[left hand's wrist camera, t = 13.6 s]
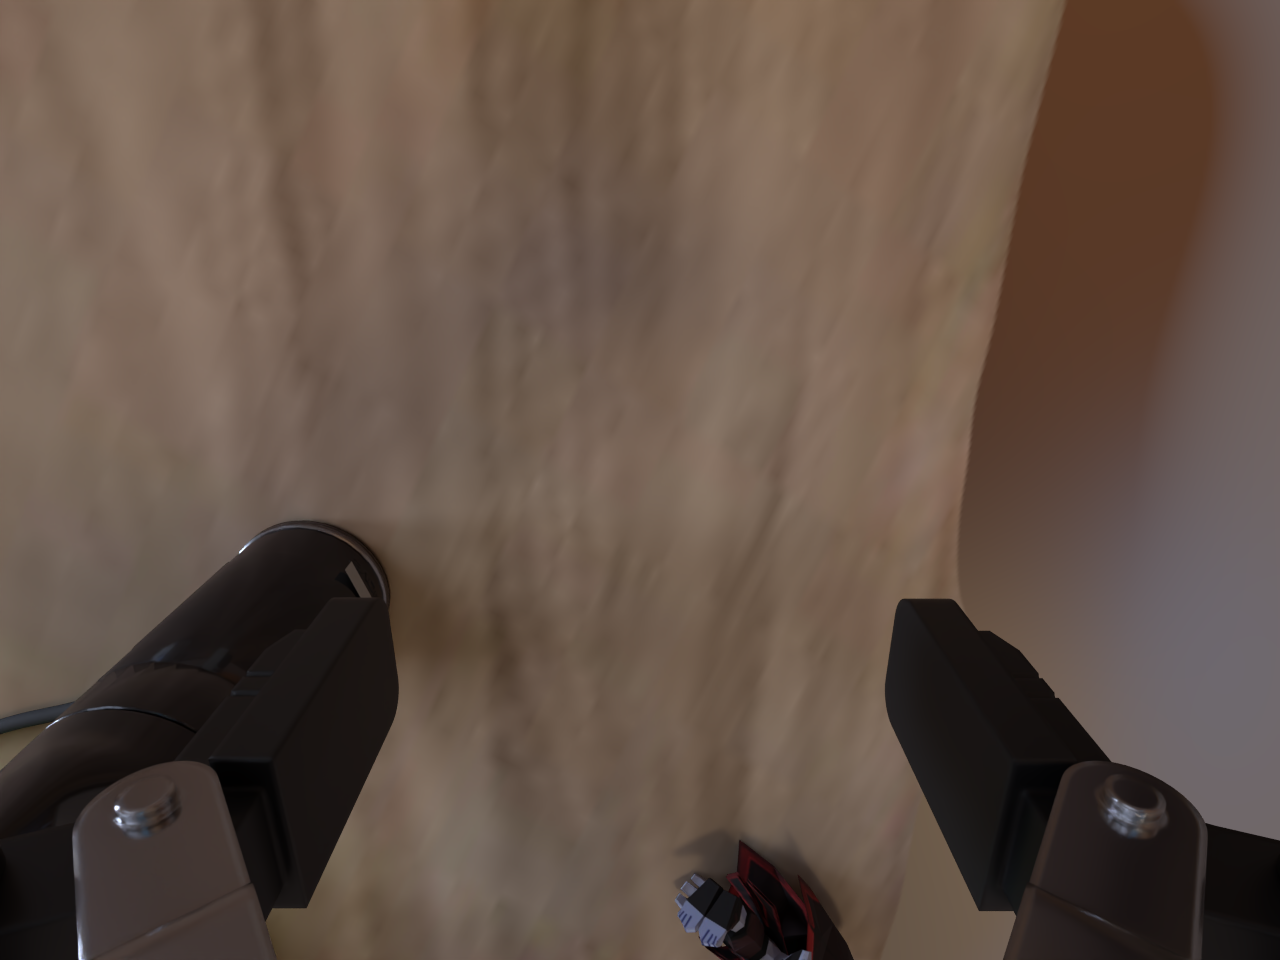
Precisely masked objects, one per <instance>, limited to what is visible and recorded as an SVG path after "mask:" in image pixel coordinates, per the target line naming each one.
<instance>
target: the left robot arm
mask: <svg viewBox="0 0 1280 960" xmlns="http://www.w3.org/2000/svg"><path fill="white" fill-rule="evenodd" d="M389 600H390V595H389V586H388V582H387V579H386V576H385V573H384V571H383V569H382V567H381V565H380V564H379V562H378V561H377V559H376V558H375V556H374V555H373V554H372V553H371V552H370V551H369V550H368V548H367V547H365V546H364V545H363V544H362V543H361V542H360V541H358V540H357V539H356V538H354V537H353V536H351V535H350V534H348V533H346V532H344V531H342V530H340V529H338V528H335V527H333V526H330V525H327V524H323V523H319V522H312V521H290V522H284V523H280V524H277V525H274V526H271V527H269V528H267V529H265V530H264V531H262V532H260V533H259V534H258V535H256V536H255V537H254V538H253V539H252V540H251V541H250V542H248V543H247V544H246V545H245V546H244V548H243V549H242V550H241V551H240V553H239V554H238V555H237V556H236V557H235V558H233V559H232V560H231V561H230V562H228V563H226V564H225V565H224V566H223V567H222V568H221V569H220V570H218V571H217V572H216V573H215V574H214V575H213V576H212V577H211V578H210V579H208V580H207V581H206V582H205V583H204V584H203V585H202V586H201V587H200V588H199V589H197V590H196V591H195V592H194V593H193V594H192V595H191V596H190V597H189V598H187V599H186V600H185V601H184V602H183V603H182V604H181V605H180V606H179V607H177V608H176V609H175V610H174V611H173V612H172V613H171V614H170V615H169V616H167V617H166V618H165V619H164V620H163V621H162V622H161V623H160V624H159V625H157V626H156V627H155V628H154V629H153V630H152V631H151V632H150V633H149V634H147V635H146V636H145V637H144V638H143V639H142V640H141V641H140V642H139V643H137V644H136V645H135V646H134V647H133V649H132V650H131V651H130V652H129V653H128V654H127V655H126V656H124V657H123V658H122V659H121V660H120V661H119V662H118V663H117V664H116V665H115V666H113V667H112V668H111V669H110V670H109V671H108V672H107V673H106V674H105V675H103V676H102V677H101V678H100V679H99V680H98V681H97V682H96V683H95V684H94V685H93V686H92V687H91V688H90V689H88V690H87V691H86V692H85V693H84V694H83V695H82V696H81V697H80V698H79V699H77V700H76V701H74V702H70V703H66V704H62V705H58V706H53V707H48V708H44V709H39V710H34V711H30V712H25V713H21V714H17V715H13V716H10V717H6V718H3V719H0V734H3V733H6V732H10V731H13V730H17V729H21V728H25V727H29V726H34V725H39V724H43V723H48V722H52V723H51V724H50V725H49V726H48V727H46V729H44V730H43V731H42V732H41V733H40V734H39V735H38V736H37V737H35V738H34V739H33V740H32V741H31V742H30V743H29V744H28V745H27V746H26V747H25V748H24V749H23V750H22V751H20V752H19V753H18V754H17V755H16V756H15V757H14V758H13V759H12V760H11V761H10V762H9V763H8V764H7V765H6V766H5V767H4V768H3V769H2V770H1V771H0V960H277V958H276V955H275V952H274V948H273V945H272V942H271V939H270V936H269V932H268V929H267V926H266V923H265V921H266V919H267V917H268V915H269V913H270V911H271V910H272V908H307V906H308V904H309V902H310V899H311V897H312V895H313V893H314V891H315V889H316V886H317V884H318V882H319V880H320V878H321V876H322V874H323V871H324V869H325V867H326V865H327V863H328V861H329V859H330V856H331V854H332V852H333V850H334V848H335V846H336V843H337V841H338V839H339V837H340V835H341V833H342V831H343V828H344V826H345V824H346V822H347V820H348V818H349V816H350V813H351V811H352V809H353V807H354V805H355V803H356V800H357V798H358V796H359V794H360V792H361V790H362V788H363V785H364V783H365V781H366V779H367V777H368V775H369V773H370V770H371V768H372V766H373V764H374V762H375V760H376V757H377V755H378V753H379V751H380V749H381V747H382V745H383V742H384V740H385V738H386V736H387V734H388V732H389V730H390V727H391V725H392V723H393V720H394V717H395V714H396V710H397V704H398V694H399V684H398V675H397V668H396V661H395V654H394V647H393V640H392V633H391V626H390V619H389V613H388V608H389ZM885 700H886V707H887V713H888V717H889V720H890V723H891V725H892V727H893V729H894V731H895V734H896V736H897V738H898V740H899V742H900V744H901V746H902V748H903V751H904V753H905V755H906V757H907V759H908V761H909V763H910V765H911V768H912V770H913V772H914V774H915V776H916V778H917V780H918V782H919V785H920V787H921V789H922V791H923V793H924V795H925V797H926V799H927V802H928V804H929V806H930V808H931V810H932V812H933V814H934V816H935V818H936V821H937V823H938V825H939V827H940V829H941V831H942V833H943V835H944V838H945V840H946V842H947V844H948V846H949V848H950V850H951V853H952V855H953V857H954V859H955V861H956V863H957V865H958V867H959V869H960V872H961V874H962V876H963V878H964V880H965V882H966V884H967V887H968V889H969V891H970V893H971V895H972V897H973V899H974V901H975V904H976V906H977V908H978V910H979V911H1014V913H1015V915H1016V920H1015V923H1014V926H1013V929H1012V932H1011V936H1010V939H1009V942H1008V945H1007V948H1006V952H1005V955H1004V958H1003V960H1280V841H1279V840H1274V839H1270V838H1266V837H1262V836H1257V835H1253V834H1249V833H1244V832H1240V831H1236V830H1231V829H1227V828H1223V827H1218V826H1214V825H1211V824H1207V823H1205V822H1204V820H1203V818H1202V816H1201V815H1200V813H1199V812H1198V810H1197V809H1196V808H1195V807H1194V806H1193V805H1192V803H1191V802H1190V801H1188V800H1187V799H1186V798H1185V797H1184V796H1183V795H1182V794H1180V793H1179V792H1178V791H1177V790H1175V789H1174V788H1173V787H1171V786H1169V785H1168V784H1166V783H1165V782H1163V781H1162V780H1160V779H1158V778H1156V777H1154V776H1152V775H1150V774H1148V773H1145V772H1143V771H1141V770H1138V769H1135V768H1132V767H1129V766H1126V765H1122V764H1118V763H1113V762H1111V761H1110V760H1109V758H1108V757H1107V756H1106V755H1105V753H1104V752H1103V751H1102V750H1101V749H1100V747H1099V746H1098V745H1097V744H1096V743H1095V741H1094V740H1093V739H1092V738H1091V737H1090V735H1089V734H1088V733H1087V732H1086V731H1085V729H1084V728H1083V727H1082V726H1081V724H1080V723H1079V722H1078V721H1077V720H1076V718H1075V717H1074V716H1073V715H1072V714H1071V712H1070V711H1069V710H1068V709H1067V707H1066V706H1065V705H1064V704H1063V703H1062V701H1061V700H1060V699H1059V698H1055V696H1054V692H1053V691H1052V689H1051V688H1050V687H1049V686H1048V684H1047V683H1046V682H1045V681H1044V680H1043V678H1039V674H1038V672H1037V671H1036V670H1035V669H1034V668H1033V666H1032V665H1031V664H1030V663H1029V661H1028V660H1027V659H1026V658H1025V657H1024V655H1023V654H1022V653H1021V652H1020V651H1019V650H1018V649H1016V648H1015V647H1013V646H1012V645H1010V644H1009V643H1007V642H1006V641H1004V640H1003V639H1001V638H1000V637H998V636H997V635H995V634H994V633H992V632H991V631H978V630H977V629H976V628H975V626H974V625H973V624H972V622H971V621H970V620H969V618H968V617H967V616H966V615H965V613H964V612H963V611H962V609H961V608H960V607H959V605H958V604H957V603H956V602H955V601H954V600H952V599H902V600H901V601H900V602H899V603H898V606H897V609H896V613H895V619H894V626H893V633H892V640H891V647H890V654H889V660H888V667H887V674H886V681H885Z"/></svg>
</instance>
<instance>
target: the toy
mask: <svg viewBox="0 0 1280 960" xmlns="http://www.w3.org/2000/svg"><path fill="white" fill-rule="evenodd" d="M727 875H728V876H726V878H727V879H728V880H729V882H730V883H731V884H732V885H731V887H730V889H729V891H725V890H723V888H722V887H721V886H719V885H718V884H717V883H716V882H715V881H714V880H713V879H711V878H708V879H707V880H706V879H705V878H703V877H702V876H700V875H698V874H696V873H695V874H694V875H693V876H692V878H691V880H692V881H693V882H694V883H695V884H696V885H698V886H699V888H698V889H696V888H695V887H694V886H692V885H691V884H690V883H688V882H687V881H686V882H685V884H684V885H683V886H682V887H681V890H682V891H683V892H685V893H686V894H687V895H688V896H689V898H688V899H687V898H685V897H684V896H682V895H681V894H680V893H679V894H678V896H677V897H676V899H675V901H676V903H677V904H678V906H679V907H680V908H681V910H680V911H679V912H678V917H679V918H680V920H681V922H682V924H683V926H684V928H685V931H686V932H697V931H698V929H699V935H700V937H699V936H698V937H699V938H700V940H701V943H702V945H704V946H705V947H706V948H707V949H708V950H710V951H711V952H712V953H714V955H717V957H718V958H720V959H721V960H854V959H853V957H852V955H851V952H850V950H849V947H848V945H847V943H846V941H845V940H844V939H843V937H842V936H841V934H840V933H839V931H838V930H837V928H836V927H835V925H834V924H833V922H832V921H831V919H830V918H829V916H828V915H827V913H826V912H825V910H824V909H823V907H822V905H821V904H820V902H819V901H818V899H817V898H816V896H815V895H814V893H813V892H812V890H811V889H810V887H809V886H808V885H807V884H806V883H805V882H804V881H803V880H802V878H801V877H800V876H799V875H798V878H799V883H800V887H801V891H802V895H803V899H804V903H803V902H802V900H801V899H800V898H799V897H798V896H797V894H796V893H795V892H794V891H793V889H792V888H791V887H790V886H789V884H788V883H787V882H786V881H785V879H784V878H783V877H782V876H781V874H780V873H779V872H778V871H777V869H776V868H775V867H774V866H773V865H772V864H770V863H769V862H768V861H766V860H765V859H764V858H762V857H761V856H760V855H759V854H757V853H756V852H755V851H753V850H752V849H751V848H749V847H748V846H747V845H745V844H744V843H743V842H742V841H739V854H738V867H737V872H735V873H731V874H727ZM722 943H724V944H725V945H726V946H724V947H722V946H721V945H722Z"/></svg>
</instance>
